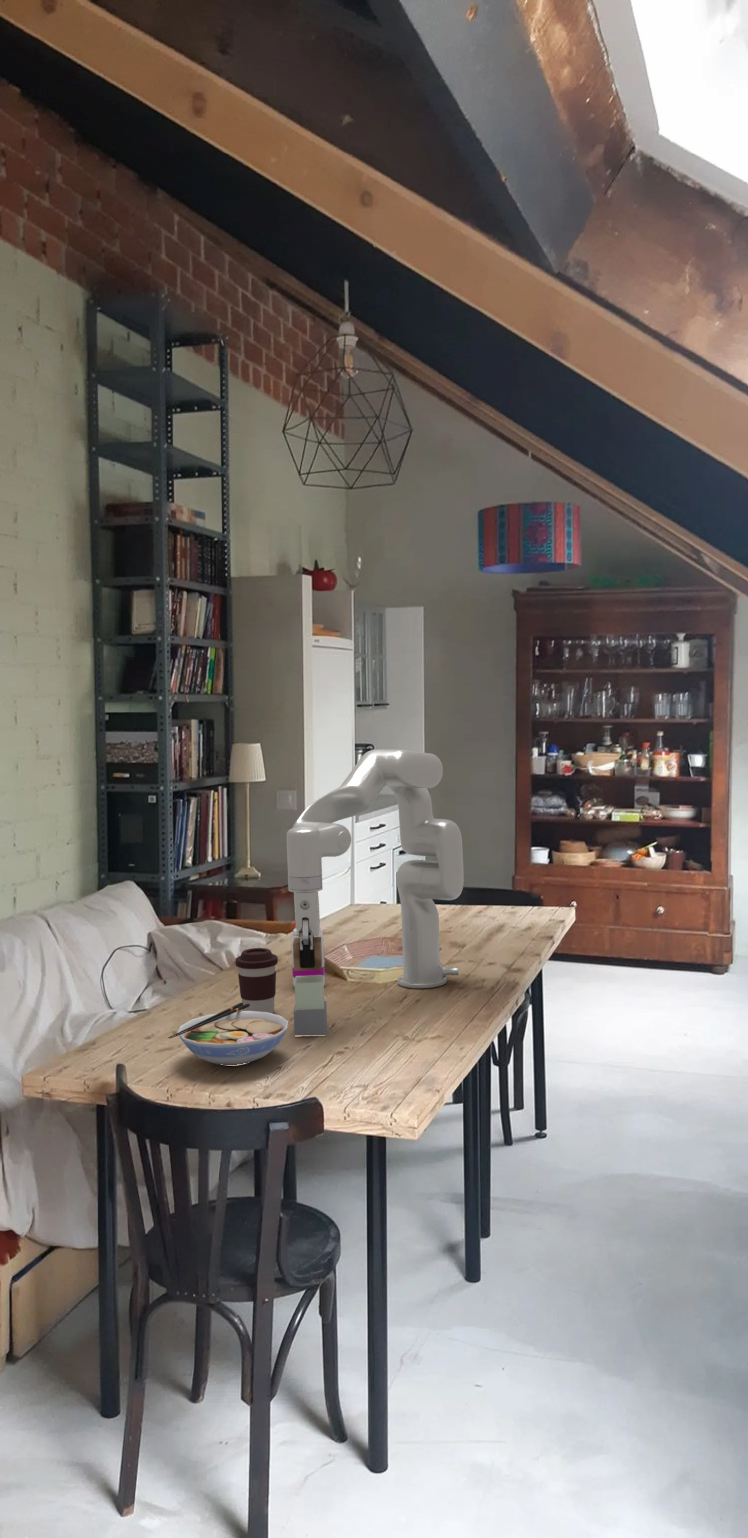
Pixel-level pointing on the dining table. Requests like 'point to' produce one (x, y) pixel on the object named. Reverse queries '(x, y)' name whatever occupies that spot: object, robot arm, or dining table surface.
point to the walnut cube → (317, 954)
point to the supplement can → (308, 972)
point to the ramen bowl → (233, 1035)
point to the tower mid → (309, 992)
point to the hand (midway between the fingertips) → (308, 963)
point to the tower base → (311, 1021)
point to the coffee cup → (257, 979)
